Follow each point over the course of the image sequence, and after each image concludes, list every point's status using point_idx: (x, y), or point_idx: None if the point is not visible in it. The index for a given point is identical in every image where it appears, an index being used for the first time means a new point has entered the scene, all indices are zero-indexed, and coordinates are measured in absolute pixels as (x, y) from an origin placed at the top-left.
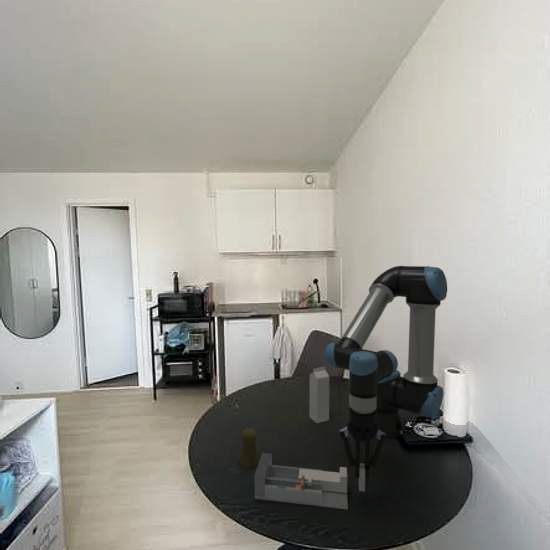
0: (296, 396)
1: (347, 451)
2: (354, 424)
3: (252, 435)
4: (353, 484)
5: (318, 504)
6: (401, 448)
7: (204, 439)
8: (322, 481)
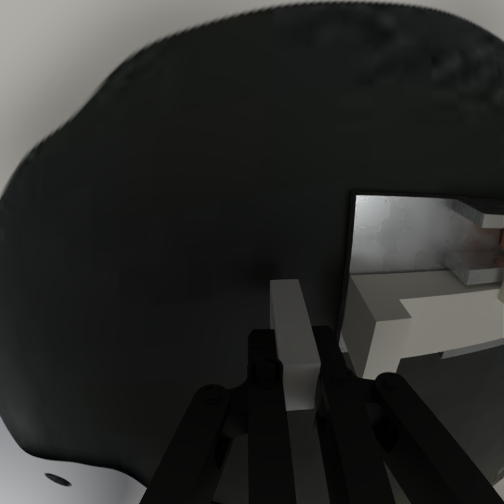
0: None
1: (451, 450)
2: None
3: None
4: None
5: (462, 198)
6: (138, 473)
7: None
8: (465, 290)
